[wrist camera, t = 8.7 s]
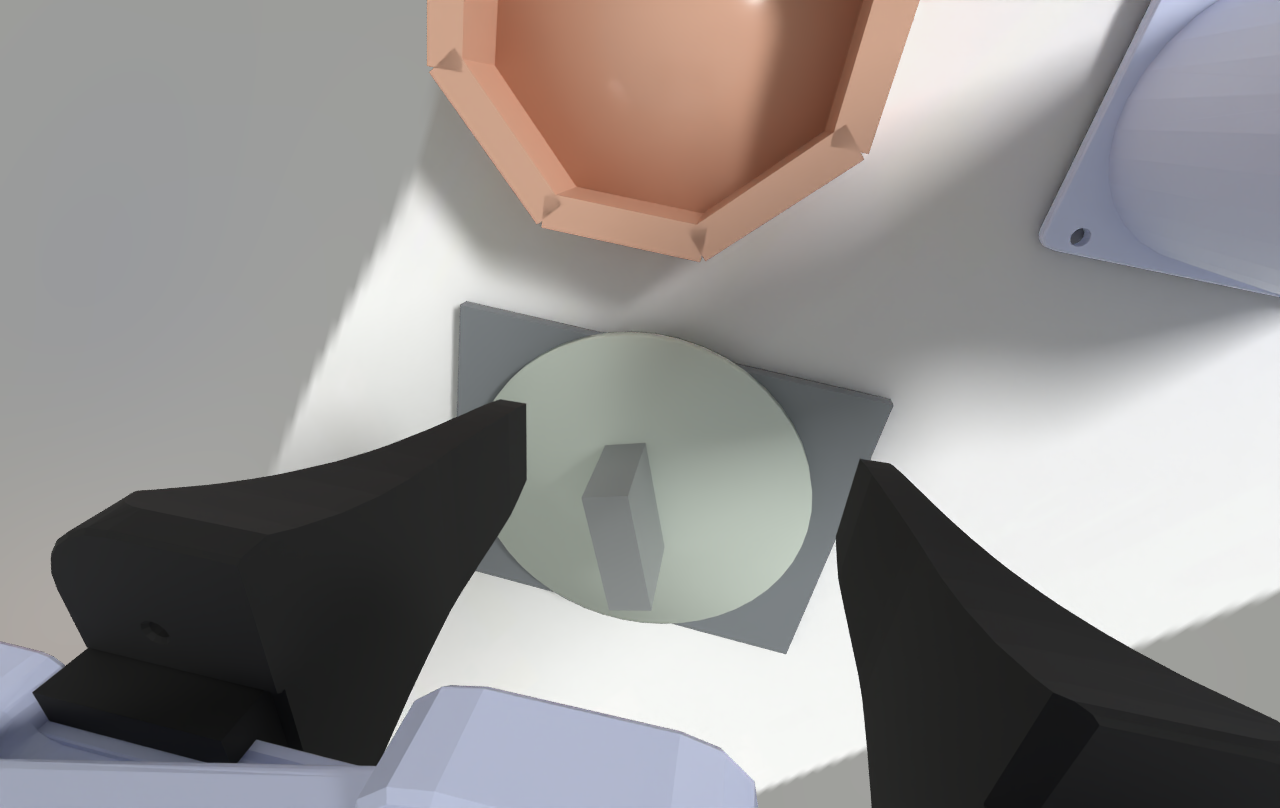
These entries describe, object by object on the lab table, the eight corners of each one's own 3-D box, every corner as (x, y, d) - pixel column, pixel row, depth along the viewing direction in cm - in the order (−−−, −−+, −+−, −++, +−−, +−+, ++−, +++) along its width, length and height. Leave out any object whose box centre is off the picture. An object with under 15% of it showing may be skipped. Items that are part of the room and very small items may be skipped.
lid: (802, 312, 19) (813, 357, 16) (817, 615, 25) (827, 699, 21) (440, 349, 22) (379, 394, 19) (525, 612, 28) (491, 685, 24)
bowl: (973, -237, 14) (1026, -323, 11) (814, 265, 19) (823, 289, 16) (487, -308, 14) (427, -403, 12) (469, 191, 20) (426, 202, 17)
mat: (890, 399, 21) (893, 405, 20) (785, 645, 27) (785, 654, 26) (466, 301, 22) (460, 305, 21) (457, 557, 28) (452, 564, 27)
